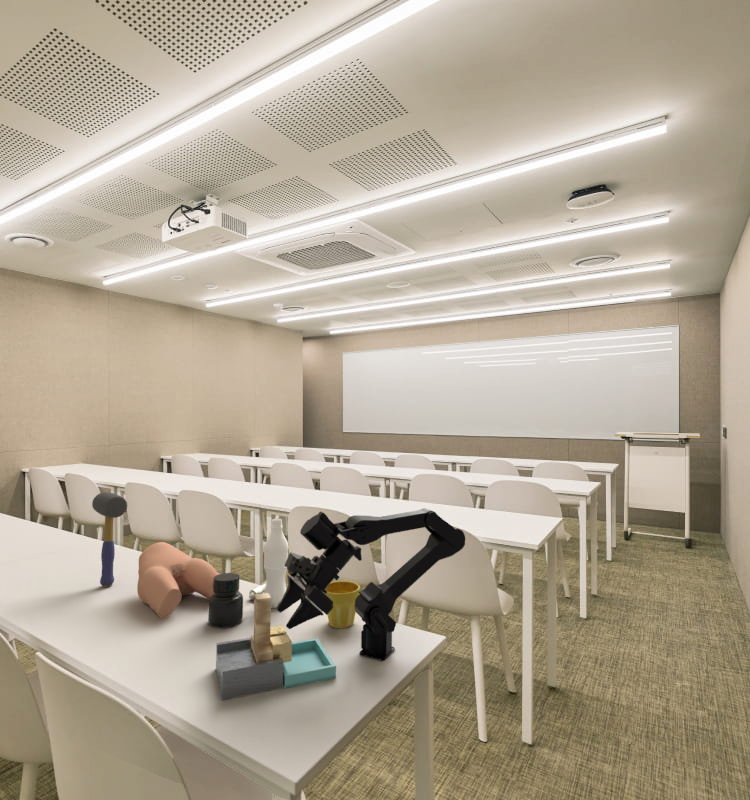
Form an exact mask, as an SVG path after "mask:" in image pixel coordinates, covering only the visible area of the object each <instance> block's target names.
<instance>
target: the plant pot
mask: <svg viewBox="0 0 750 800" xmlns="http://www.w3.org/2000/svg"><path fill="white" fill-rule="evenodd" d="M325 590H326V591H327V593H326V595H327V596H328V597H329V598H330V599H331V600H332V601H333V609H332V610H331V611H330V612H329V613H328V615H327V619H328V624H329V625H330V626H331V627H332V628H335V629H345V628H346V629H347V628H350V627H352V626H353V625H354V623H355V618H356V614H357V613H356V611H355V606H354V605H355V599H356V598H357V596H358V595H359V591H361V585H359V584H358V583H357V582H354V581H349V580H335V581H332V582H331V583H330V584H329V585H328V586H327V588H326V589H325Z"/></svg>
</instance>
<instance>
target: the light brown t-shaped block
mask: <svg viewBox="0 0 750 800" xmlns="http://www.w3.org/2000/svg"><path fill="white" fill-rule="evenodd" d="M271 611H272V609H271V597H270V595H269V593H264V594H256V595H255V596H254V600H253V634H251V635H250V638H251V648H252V651H253V654H254V656H255V659H256V662H257V663H259V662H264V661H270V660H273V650H272V648H271V646H270V627H271V624H272V623H271V617H272V616H271V615H272V612H271Z"/></svg>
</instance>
